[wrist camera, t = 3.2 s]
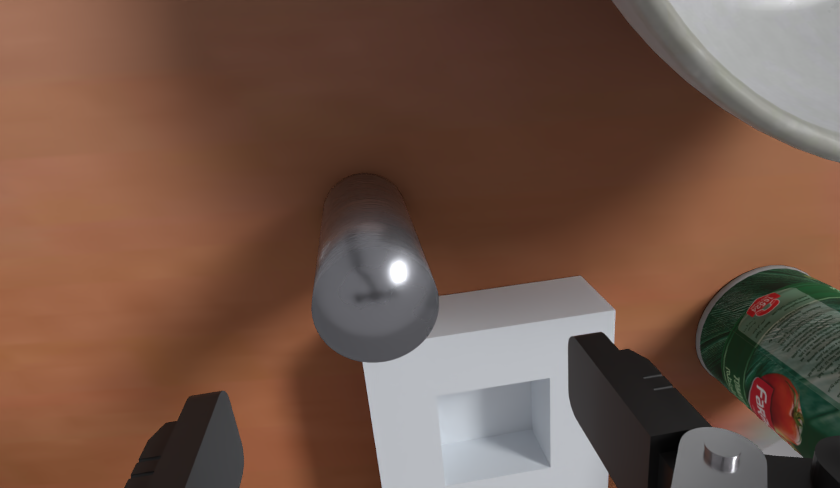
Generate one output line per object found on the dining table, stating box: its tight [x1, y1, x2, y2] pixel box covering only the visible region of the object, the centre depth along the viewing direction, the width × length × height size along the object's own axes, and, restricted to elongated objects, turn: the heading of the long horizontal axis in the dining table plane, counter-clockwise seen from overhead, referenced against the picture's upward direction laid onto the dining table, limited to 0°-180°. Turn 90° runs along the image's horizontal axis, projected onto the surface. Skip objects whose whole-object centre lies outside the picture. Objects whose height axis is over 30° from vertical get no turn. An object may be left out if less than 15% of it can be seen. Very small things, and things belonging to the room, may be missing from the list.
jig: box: [363, 276, 615, 488], centre depth 29 cm, size 12×13×4 cm
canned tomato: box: [696, 265, 840, 459], centre depth 27 cm, size 8×8×11 cm
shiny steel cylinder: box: [312, 173, 439, 363], centre depth 22 cm, size 4×4×10 cm
